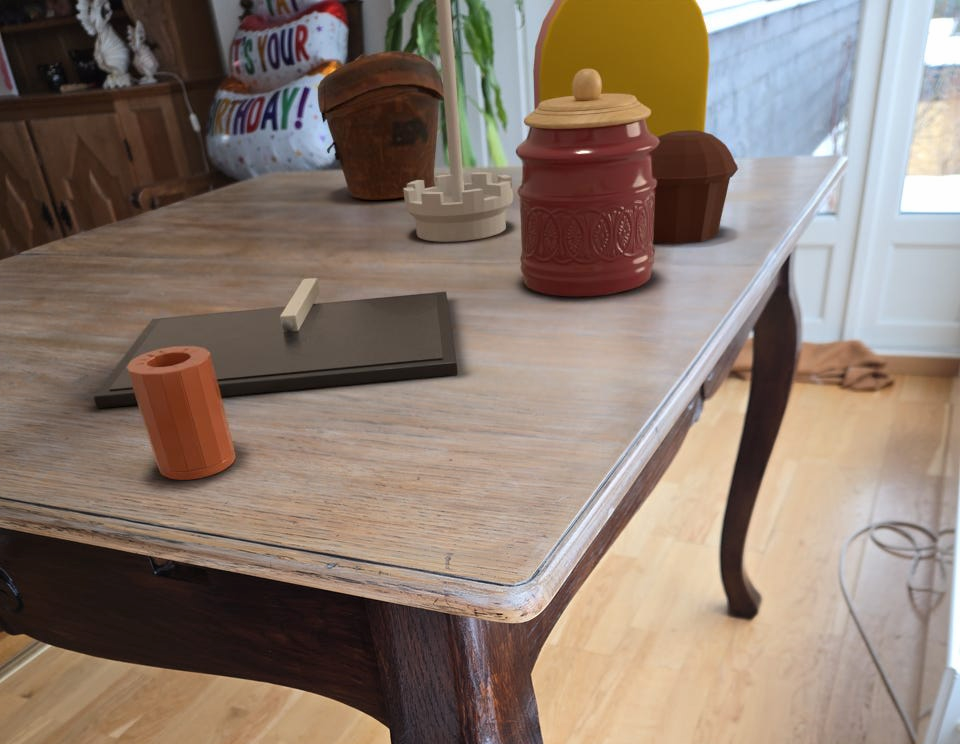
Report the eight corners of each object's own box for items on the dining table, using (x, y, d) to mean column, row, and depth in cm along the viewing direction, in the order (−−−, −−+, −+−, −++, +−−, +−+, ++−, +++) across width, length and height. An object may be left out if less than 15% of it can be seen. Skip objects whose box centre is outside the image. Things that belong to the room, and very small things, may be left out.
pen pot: (151, 483, 57) (117, 377, 53) (168, 450, 61) (137, 349, 57) (229, 476, 57) (201, 369, 53) (240, 443, 61) (215, 342, 57)
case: (381, 178, 144) (365, 46, 134) (479, 184, 134) (470, 40, 123) (301, 201, 133) (276, 58, 123) (401, 209, 123) (384, 54, 112)
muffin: (606, 237, 101) (607, 137, 95) (671, 218, 107) (676, 123, 101) (688, 251, 94) (695, 144, 88) (753, 230, 99) (764, 128, 93)
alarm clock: (685, 180, 125) (699, -58, 109) (702, 192, 117) (719, -61, 102) (536, 193, 125) (529, -43, 109) (543, 206, 117) (536, -45, 102)
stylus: (277, 319, 76) (303, 278, 86) (280, 336, 77) (306, 293, 87) (293, 318, 76) (317, 277, 86) (296, 335, 77) (320, 292, 87)
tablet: (97, 409, 69) (92, 395, 68) (154, 329, 85) (151, 317, 84) (457, 374, 69) (456, 360, 68) (447, 301, 85) (446, 290, 85)
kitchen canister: (619, 304, 81) (624, 75, 70) (496, 292, 87) (484, 79, 76) (674, 267, 89) (686, 58, 79) (559, 258, 95) (556, 63, 85)
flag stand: (510, 240, 103) (494, -93, 86) (400, 246, 105) (362, -80, 87) (517, 216, 114) (504, -86, 96) (417, 221, 115) (386, -74, 98)
